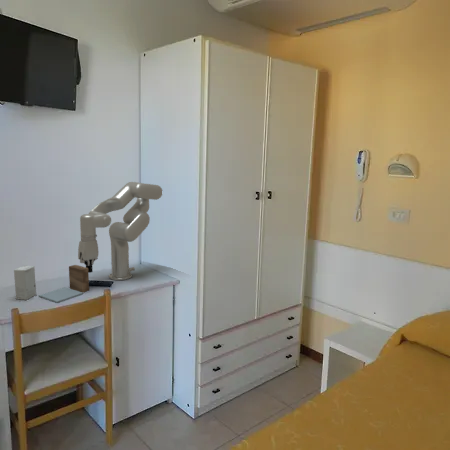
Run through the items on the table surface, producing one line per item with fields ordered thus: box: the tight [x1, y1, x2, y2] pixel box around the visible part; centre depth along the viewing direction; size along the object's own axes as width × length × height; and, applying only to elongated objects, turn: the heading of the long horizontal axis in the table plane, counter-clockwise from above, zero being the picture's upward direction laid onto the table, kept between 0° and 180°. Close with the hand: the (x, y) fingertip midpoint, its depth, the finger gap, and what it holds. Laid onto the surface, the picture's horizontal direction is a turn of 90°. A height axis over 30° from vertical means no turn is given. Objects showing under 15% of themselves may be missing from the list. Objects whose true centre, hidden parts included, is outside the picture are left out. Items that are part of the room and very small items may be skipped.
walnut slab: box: [68, 264, 90, 294], centre depth 218 cm, size 4×10×12 cm, turn 58°
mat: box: [38, 286, 84, 304], centre depth 210 cm, size 15×14×1 cm
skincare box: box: [13, 265, 37, 301], centre depth 206 cm, size 8×6×15 cm
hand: (89, 271), depth 223 cm, fingers closed
